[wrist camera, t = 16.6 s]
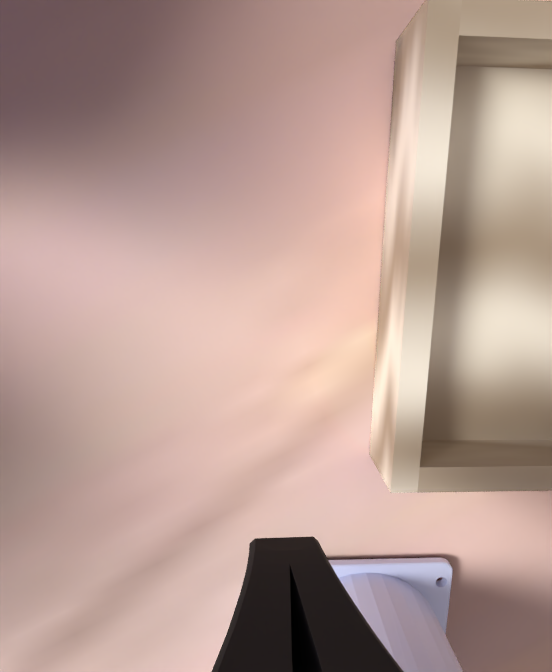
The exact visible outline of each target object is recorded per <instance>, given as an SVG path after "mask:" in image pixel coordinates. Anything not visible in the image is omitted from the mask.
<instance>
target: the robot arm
mask: <svg viewBox="0 0 552 672" xmlns="http://www.w3.org/2000/svg"><path fill="white" fill-rule="evenodd" d="M452 574H453V569H452V567H451V565H450V563H449V562H448V560H446V559H445V558H398V559H354V560H328V559H327V557H326V555H325V553H324V552H323V550H322V548H321V546H320V544H319V542H318V541H317V540H316V539H315V538H314V537H290V538H260V539H254V540H253V541H252V542H251V543H250V548H249V558H248V564H247V569H246V573H245V578H244V581H243V585H242V589H241V593H240V596H239V599H238V602H237V605H236V608H235V611H234V614H233V617H232V620H231V623H230V626H229V629H228V632H227V635H226V637H225V640H224V642H223V645H222V647H221V650H220V652H219V655H218V657H217V660H216V662H215V665H214V667H213V670H212V672H463V670H462V668H461V666H460V664H459V662H458V660H457V658H456V656H455V654H454V652H453V650H452V648H451V646H450V644H449V641H448V639H447V637H446V627H447V618H448V609H449V600H450V591H451V583H452ZM440 577H443V578H442V579H441V580H438V581H436V580H437V579H438V578H440Z"/></svg>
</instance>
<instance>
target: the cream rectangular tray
mask: <svg viewBox="0 0 552 672" xmlns="http://www.w3.org/2000/svg"><path fill="white" fill-rule="evenodd" d="M369 455H370V456H371V458H372V460H373V462H374V464H375V465H376V467H377V469H378V471H379V473H380V474H381V476H382V478H383V480H384V482H385V484H386V485H387V487H388V489H389V491H390V493H412V492H480V491H548V490H552V1H536V0H425V2H424V3H423V4H422V6H421V7H420V9H419V10H418V11H417V13H416V14H415V16H414V17H413V18H412V20H411V21H410V23H409V24H408V25H407V27H406V28H405V30H404V31H403V32H402V34H401V35H400V37H399V38H398V39H397V41H396V50H395V66H394V81H393V97H392V112H391V127H390V143H389V158H388V174H387V189H386V205H385V220H384V236H383V251H382V267H381V282H380V298H379V313H378V329H377V344H376V360H375V375H374V391H373V406H372V422H371V437H370V452H369Z"/></svg>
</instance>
